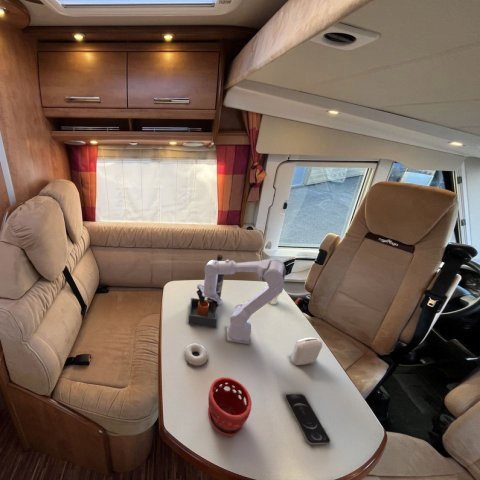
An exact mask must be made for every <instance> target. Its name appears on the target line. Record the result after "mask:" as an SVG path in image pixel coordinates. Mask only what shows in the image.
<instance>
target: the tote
mask: <svg viewBox="0 0 480 480" xmlns="http://www.w3.org/2000/svg"><path fill="white" fill-rule="evenodd" d="M199 301H200V300H199V298H195V297H190V304H189V311H188V312H189V313H188V322H187V323H188V324H190V325H194V326H195V325H196V326H202V327H209V328H215V329H216V328H217V322H218V312H217V310H218V309H217V308H218V307H217V308H216V310H215V312H214V313H211V304H210V302H212V301H211V300H207V299H205V301H207V302H208V303H209V308H208V315H207V317H205V316H198V315H197V310H198V302H199Z"/></svg>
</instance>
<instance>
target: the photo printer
mask: <svg viewBox="0 0 480 480" xmlns="http://www.w3.org/2000/svg"><path fill="white" fill-rule="evenodd" d="M322 348H323V343H322V340H320V338H317V337H305V338H301V339H299V340H297V341H296V342H295V344H294V346H293V350H292V352H291V355H290V361H291V363H293V365H296V366H302V365H308V364H313V363H315V362H316V361H317V359H318V357H319V356H320V355H319V354H320V353H321V349H322Z"/></svg>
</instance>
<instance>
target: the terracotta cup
mask: <svg viewBox="0 0 480 480" xmlns="http://www.w3.org/2000/svg"><path fill="white" fill-rule="evenodd" d="M208 308H209V303H208V302H207V301H204V303H202V304H200V301H199V302H198V310H197V315H198V316H205V317H207V315H208Z"/></svg>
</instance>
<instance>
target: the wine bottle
mask: <svg viewBox="0 0 480 480" xmlns="http://www.w3.org/2000/svg"><path fill="white" fill-rule="evenodd" d="M223 259H224V256H223V254H217V255H216V261H223ZM224 279H225V274H218V279H217V286H216V293H217V295H218V296H219V297H220V298H221V296H222V290H223V285H224ZM206 300H211V301H214V300H213V299H210V298H208V297H206Z"/></svg>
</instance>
